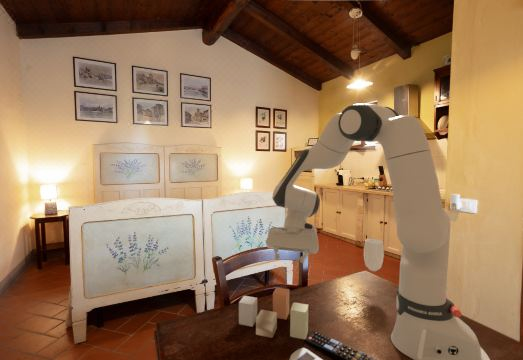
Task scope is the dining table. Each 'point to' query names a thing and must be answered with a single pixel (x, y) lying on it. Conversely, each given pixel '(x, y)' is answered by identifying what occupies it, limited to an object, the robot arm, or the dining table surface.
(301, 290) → the dining table surface
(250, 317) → the light grey block
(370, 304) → the dining table surface
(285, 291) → the terracotta block
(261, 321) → the off-white cube
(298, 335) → the sage block
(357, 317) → the dining table surface
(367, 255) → the cup
